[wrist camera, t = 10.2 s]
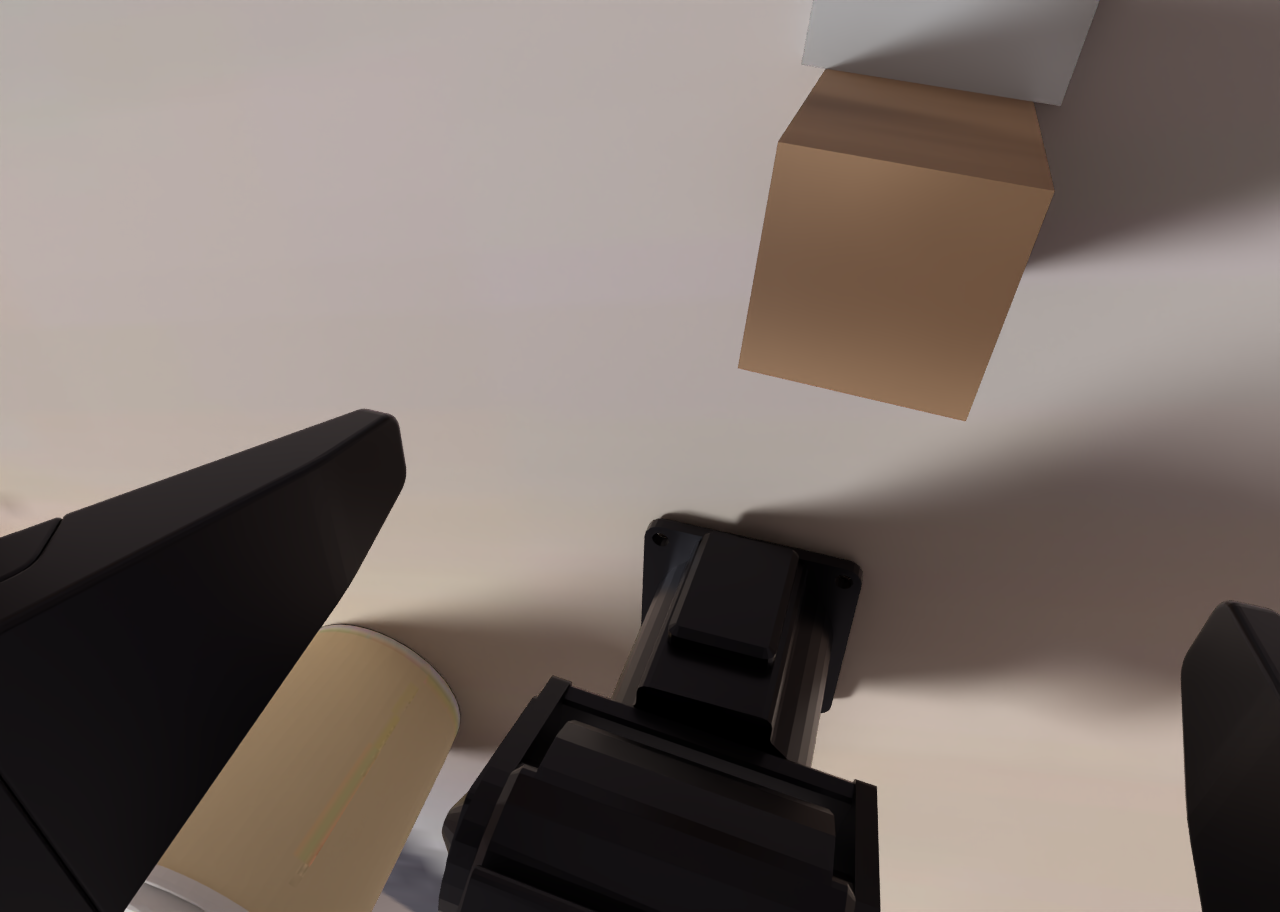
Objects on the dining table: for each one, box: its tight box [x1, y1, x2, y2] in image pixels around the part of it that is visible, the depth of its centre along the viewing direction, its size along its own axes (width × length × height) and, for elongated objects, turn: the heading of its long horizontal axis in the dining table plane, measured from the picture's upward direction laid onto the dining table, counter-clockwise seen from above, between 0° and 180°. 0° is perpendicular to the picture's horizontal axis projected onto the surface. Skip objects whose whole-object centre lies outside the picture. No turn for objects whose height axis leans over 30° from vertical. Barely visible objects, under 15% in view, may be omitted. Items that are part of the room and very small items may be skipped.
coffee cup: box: [124, 625, 460, 912], centre depth 32 cm, size 9×9×12 cm
